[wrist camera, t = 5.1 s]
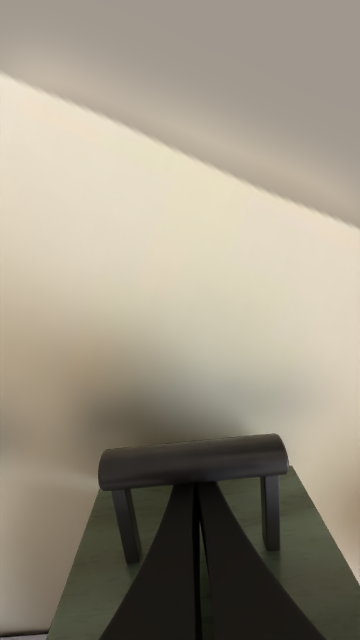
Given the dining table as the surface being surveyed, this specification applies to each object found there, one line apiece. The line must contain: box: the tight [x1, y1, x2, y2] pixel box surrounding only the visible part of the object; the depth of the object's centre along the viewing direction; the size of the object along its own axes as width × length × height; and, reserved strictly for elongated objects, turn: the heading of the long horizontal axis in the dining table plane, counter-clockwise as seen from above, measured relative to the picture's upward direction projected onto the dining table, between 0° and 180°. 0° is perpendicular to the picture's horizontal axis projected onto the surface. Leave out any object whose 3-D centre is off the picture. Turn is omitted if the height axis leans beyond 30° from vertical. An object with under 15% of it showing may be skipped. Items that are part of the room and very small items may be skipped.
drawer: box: [46, 434, 360, 640], centre depth 12 cm, size 19×11×7 cm, turn 6°
